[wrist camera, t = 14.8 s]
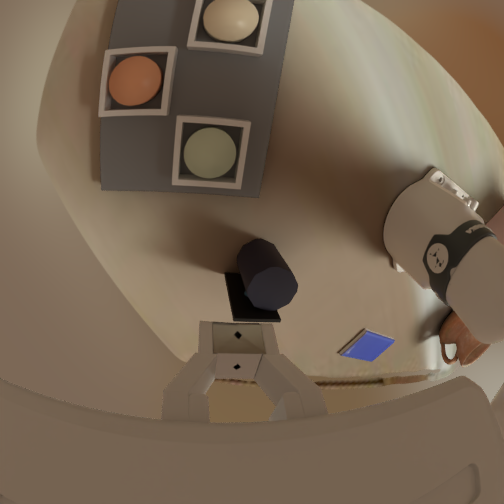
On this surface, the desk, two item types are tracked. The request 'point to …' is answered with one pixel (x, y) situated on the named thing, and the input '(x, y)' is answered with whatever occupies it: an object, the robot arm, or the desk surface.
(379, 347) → the hard drive
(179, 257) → the desk surface
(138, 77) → the terracotta button
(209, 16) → the sand button
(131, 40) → the button console
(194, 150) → the sage button
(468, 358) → the ceramic jug
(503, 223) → the greeting card
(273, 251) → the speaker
